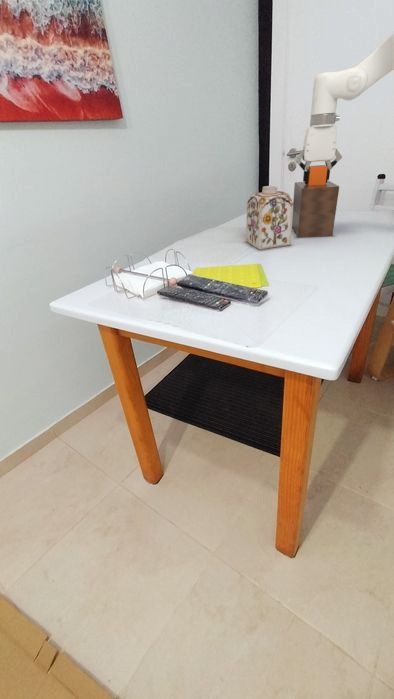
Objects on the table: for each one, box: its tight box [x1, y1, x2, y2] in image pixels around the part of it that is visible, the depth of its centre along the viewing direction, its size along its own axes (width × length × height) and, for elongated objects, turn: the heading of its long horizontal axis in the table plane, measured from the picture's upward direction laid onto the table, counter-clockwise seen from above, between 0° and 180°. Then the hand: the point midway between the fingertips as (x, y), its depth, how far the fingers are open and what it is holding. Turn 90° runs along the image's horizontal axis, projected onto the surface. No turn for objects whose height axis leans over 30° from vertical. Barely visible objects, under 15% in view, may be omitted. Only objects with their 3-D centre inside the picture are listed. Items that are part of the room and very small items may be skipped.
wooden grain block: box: [292, 180, 340, 238], centre depth 123 cm, size 12×17×16 cm
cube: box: [307, 164, 328, 186], centre depth 117 cm, size 6×6×6 cm
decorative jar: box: [245, 185, 293, 251], centre depth 112 cm, size 12×12×18 cm
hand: (315, 182), depth 118 cm, fingers open, 5 cm apart
